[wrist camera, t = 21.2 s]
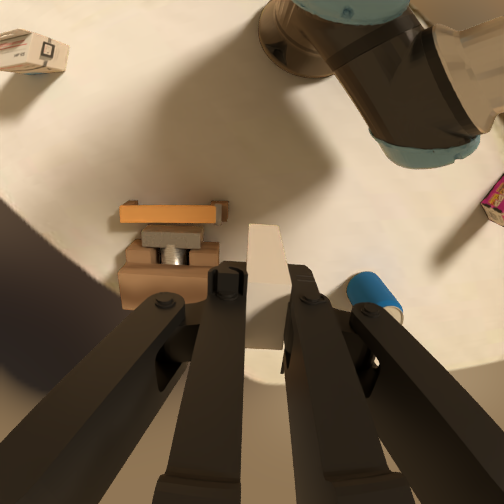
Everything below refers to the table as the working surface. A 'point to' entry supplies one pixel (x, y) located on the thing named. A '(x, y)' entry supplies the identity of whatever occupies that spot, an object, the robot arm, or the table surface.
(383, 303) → the beverage can
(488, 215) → the candy bar box
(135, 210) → the bar
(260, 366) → the table surface
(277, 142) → the table surface
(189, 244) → the pin
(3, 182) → the table surface
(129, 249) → the hitch block
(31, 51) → the ink box
